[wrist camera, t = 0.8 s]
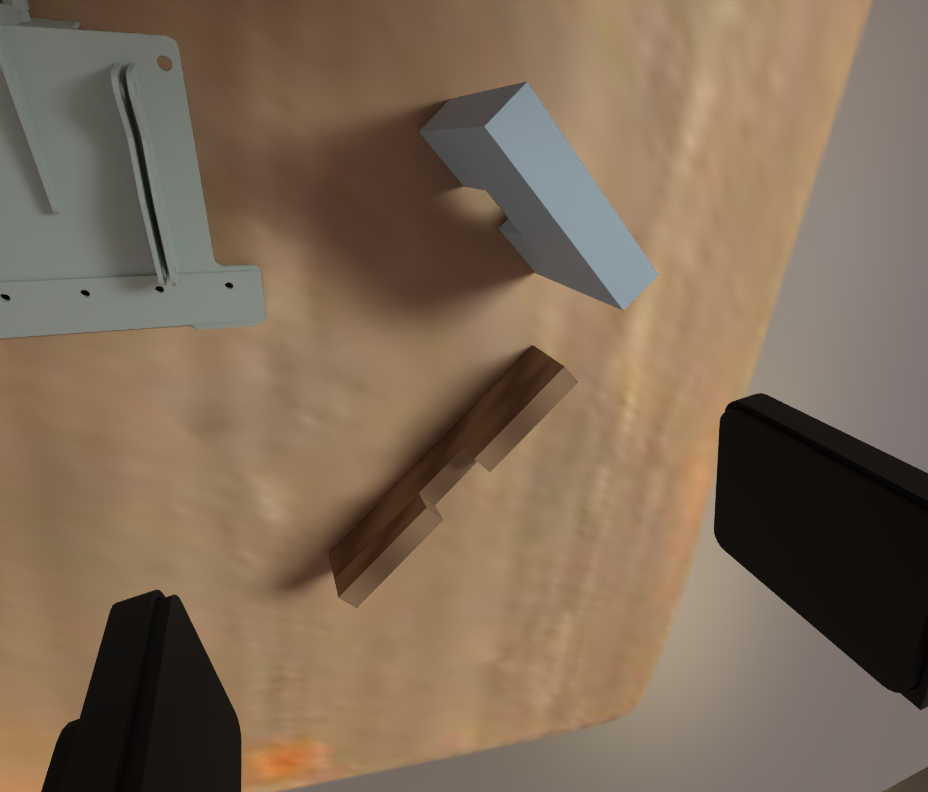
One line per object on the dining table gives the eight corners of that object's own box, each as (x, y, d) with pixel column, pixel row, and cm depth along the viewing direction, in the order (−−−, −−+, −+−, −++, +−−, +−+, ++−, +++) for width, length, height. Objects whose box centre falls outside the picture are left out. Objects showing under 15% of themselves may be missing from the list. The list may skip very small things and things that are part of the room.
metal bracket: (-363, -24, 16) (231, 22, 20) (-242, -41, 20) (228, 0, 25) (-103, 393, 25) (270, 359, 29) (-57, 320, 29) (263, 300, 34)
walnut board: (532, 345, 36) (564, 366, 32) (545, 359, 36) (578, 382, 33) (329, 554, 36) (338, 597, 33) (345, 564, 37) (356, 607, 34)
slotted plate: (418, 132, 29) (484, 126, 21) (449, 99, 29) (527, 81, 21) (534, 272, 34) (623, 310, 26) (561, 245, 34) (658, 274, 26)
